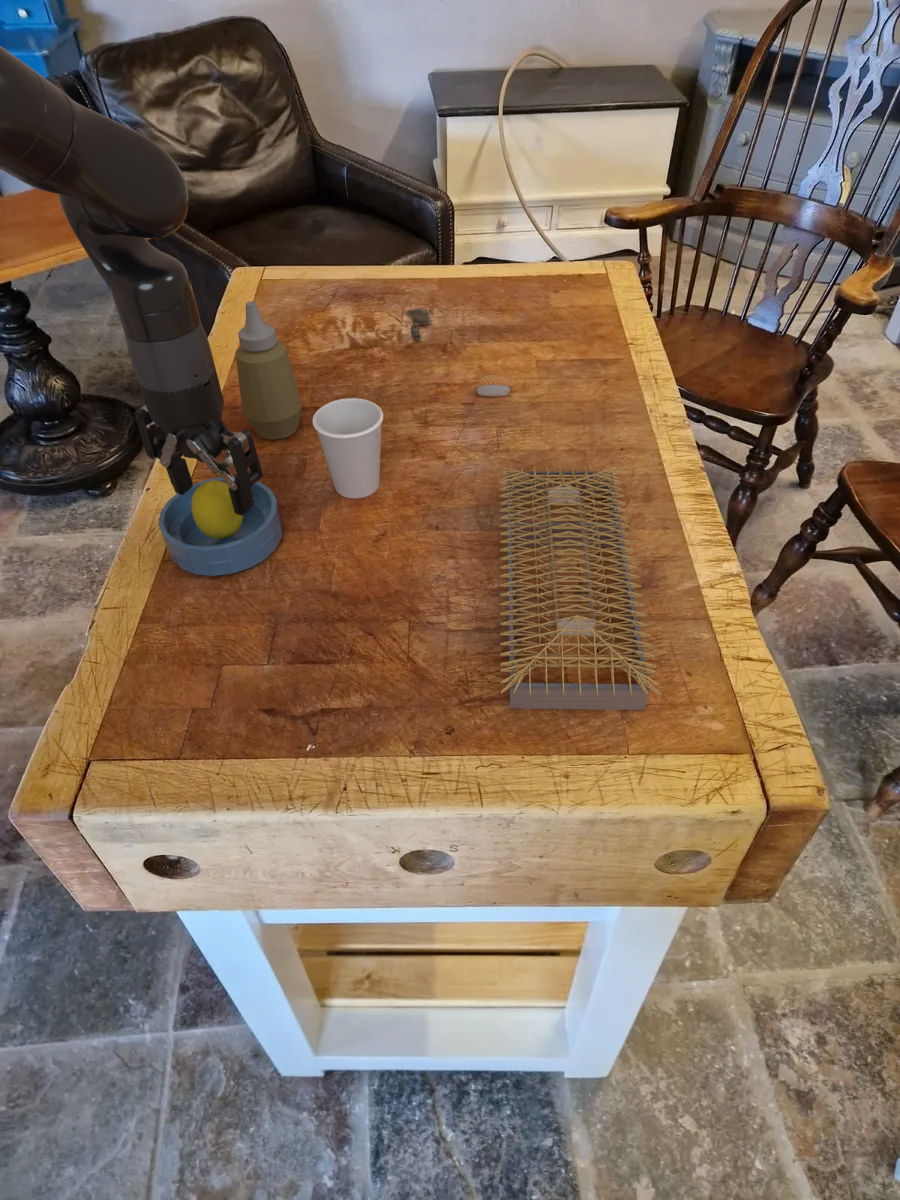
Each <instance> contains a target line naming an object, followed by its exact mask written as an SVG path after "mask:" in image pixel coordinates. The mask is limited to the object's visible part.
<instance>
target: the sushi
mask: <svg viewBox="0 0 900 1200" xmlns="http://www.w3.org/2000/svg"><path fill="white" fill-rule="evenodd" d="M511 388H512V389H513V388H515V384H514V382H513V380H512V379H511V378H509V377H508V376H505V375H502V374H495V373H493V374H492V373H491V374H484V375H482V376H479V378H478V379H477V380H476V382H475V383H473V384H472V385H470V386H469V389H470V390H473V389H476V393H477V394H478V395H479V396H482V397H506V396H507V395H509V394H510V392H511Z"/></svg>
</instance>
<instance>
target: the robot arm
mask: <svg viewBox="0 0 900 1200" xmlns="http://www.w3.org/2000/svg"><path fill="white" fill-rule="evenodd" d="M0 170H1V171H2V172H4V173H7V175H9V176H12V177H13V178H15V179H17V180H19V181H20V182H22V183H24V184H27V185H28V186H31V187H33V188H35V189H38V190H41V191H43V192H47V193H52V194H56V195H57V198H58V202H59V204H60V207H61V210H62V213H63V214H64V217H65V219H66V220H67V223H68V224H69V226H70V228H71V230H72V232H73V233H74V235H75V237H76V238H77V240H78V242H79V243H80V245H81V247H82V248H83V250H84V252H85V253H86V255H87V257H88V258H89V260H90V261H91V263H92V264H93V267H94V268H95V270H96V271H97V272H98V274H99V276H100V277H101V278H102V279H103V281H104V283H105V284H106V286H107V287H108V289H109V290H110V293H111V296H112V300H113V303H114V305H115V308H116V311H117V314H118V318H119V320H120V323H121V327H122V330H123V332H124V337H125V341H126V346H127V351H128V356H129V360H130V362H131V365H132V369H133V372H134V375H135V378H136V380H137V383H138V386H139V390H140V393H141V395H142V398H143V402H144V404H145V405H143V406H141V407H140V408H139V409H137V410H136V411H135V412H134V418H135V421H136V425H137V427H138V431H139V434H140V438H141V441H142V445H143V448H144V451H145V454H146V456H147V457H148V458H150V459H152V460H153V459H155V458H156V459H158V460H159V463H160V465H161V466H162V467H163V468H165V469H166V473H167V476H168V478H169V481H170V484H171V485H172V487H173V489H174V493H176V494H177V493H178V494H181V495H183V494H185V493H186V492H187V491H188V490H189V489H191V488H192V486H193V484H194V483H193V479H192V476H191V473H190V470H189V466H188V463H187V460H186V458H188V459H194V460H196V461H198V462H199V463H203V464H204V465H205V466H206V467H207V468H208V469H209V470H210V472H211V473H212V474H213V475H215V476H216V475H218V476H220V477H222V479H223V480H224V481H225V482H226V484H227V485H228V486H229V488H228V490H229V493H230V497H231V501H232V504H233V508H234V511H235V514H238V515H241V516H242V515H244V514H245V513H246V512H247V511H248V510H249V509H250V508H251V507H252V506H253V504H254V501H253V497H252V493H251V489H250V488H251V487H252V486H253V485H254V484H255V483H256V482H257V481H258V482H259V481H260V480H261V479H263V478H264V473H263V468H262V466H261V462H260V458H259V455H258V451H257V448H256V445H255V441H254V437H253V434H252V432H251V431H250V430H249V429H247V428H243V429H241V430H240V431H239V432H236V431H232V430H229V428H228V427H227V425H226V424H225V421H224V420H223V417H222V416H223V409H224V404H225V400H224V395H223V392H222V388H221V387H222V386H221V384H220V379H219V376H218V373H217V368H216V364H215V361H214V356H213V353H212V348H211V345H210V342H209V339H208V336H207V333H206V331H205V329H204V326H203V324H202V320H201V317H200V313H199V309H198V305H197V302H196V297H195V293H194V290H193V287H192V282H191V279H190V277H189V273H188V271H187V269H186V267H185V265H184V264H183V263H182V261H180V260H178V259H177V258H176V257H174V256H172V255H170V254H169V253H166V252H164V251H162V250H160V249H158V248H156V247H155V246H153V244H151V243H150V242H149V241H148V239H151V240H153V239H162V238H165V237H168V236H170V235H172V234H174V233H175V232H176V231H178V230H179V229H180V228H181V226H182V225H183V224H184V222H185V220H186V218H187V215H188V211H189V206H190V196H189V190H188V186H187V182H186V180H185V178H184V177H185V176H184V175H183V173H182V170H181V169H180V167H179V166H178V164H177V163H176V162H175V160H174V159H173V157H171V155H170V154H169V153H168V152H167V151H166V150H164V149H163V147H162V146H160V145H159V144H157V142H155V141H153V140H152V139H150V138H148V137H146V136H145V135H143V134H141V133H139V132H138V131H135V130H134V129H131V128H130V127H128V126H126V125H124V124H121V123H120V122H117V121H116V120H114V119H112V118H110V117H108V116H106V115H104V114H101V113H99V112H97V111H95V110H92V109H90V108H88V107H86V106H84V105H82V104H80V103H78V102H77V101H75V100H74V99H72V98H71V97H70V96H69V95H68V94H67V93H66V92H64V91H63V90H62V89H60V88H59V87H57V86H56V85H55V84H54V83H52V82H51V81H49V79H47V78H45V77H44V76H43V75H41V74H40V73H39V72H38V71H36V70H35V69H33V68H32V67H30V66H29V65H28V64H27V63H25V62H24V61H22V60H21V59H20V58H18V57H17V56H16V55H14V54H13V53H12V52H9V51H8V50H7V49H6V48H4V47H2V46H1V45H0ZM155 438H156V442H154V441H155V440H154V439H155ZM222 452H224V453H225V455H226V456H225V458H224V459H223V460H222V461H220V462H219V461H218V460H216V458H218V457H219V456H220V455H221V454H222ZM183 457H184V458H183ZM229 466H231V467H232V468H233V470H234V471H235V473H236V474H234V475H233V474H232V473H231V471H230V470H229Z"/></svg>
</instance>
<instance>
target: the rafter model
mask: <svg viewBox="0 0 900 1200" xmlns="http://www.w3.org/2000/svg"><path fill="white" fill-rule="evenodd" d="M499 468H500V469H501V470H500V471H499V474H501V475H505V476H504V477H501V478H499V485H506V486H503V487H500V488H499V491H505V492H506V493H503V494H500V495H499V498H506V500H503V501H500V502H499V505H506V507H504V508H501V509H499V512H500V513H501V512H502V513H506V515H504V516H500V517H499V520H506V522H505V523H503V524H499V528H506V531H502V532H499V535H500V536H506V539H502V540H499V543H500V544H506V547H504V548H500V549H499V552H506V556H502V557H500V558H499V561H506V562H507V564H504V565H501V566H499V569H502V570H506V569H507V573H505V574H500V575H499V578H507V582H503V583H500V584H499V588H500V587H501V588H503V587H505V588H506V587H507V591H506V592H502V593H500V594H499V596H500V597H507V601H504V602H500V604H499V606H507V610H506V611H503V612H500V613H499V614H500V616H507V621H503V622H500V623H499V625H500V626H507V627H508V630H507V631H504V632H500V633H499V636H508V637H507V638H508V641H504V642H500V646H508V651H505V652H501V653H500V656H502V657H503V656H505V657H507V656H508V661H506V662H501V663H500V667H505V668H501V669H500V672H508V676H507V678H505V679H503V680H502V681H500V684H501V685H502V684H505V683H508V684H507V685H506V686H505V687H504V688H503V689H502V690H501V691H500V695H502V694H503V693H504V692H506V691H507V690H508V693H509V694H508V695H509V696H508V697H509V700H508V701H509V709H532V710H535V709H536V710H537V709H538V710H541V709H542V710H597V711H599V710H601V711H602V710H603V711H605V710H607V711H608V710H609V711H617V710H618V711H645V710H646V705H647V701H648V698H649V693H650V690H651V691H652V692H654V693H655V694H657V695H658V696H660V697H661V696H662V693H661V692H660V691H659V690H658V689H657V688H656V687H655V686H658V687H659V686H660V683H659V682H658V681H656V680H654V679H652V678H650V677H649V676H648V674H658V671H657V670H655V669H656V668H657V664H654V663H649V662H646V659H645V658H655V655H654V654H651V653H647V652H644V648H652V647H653V644H651V643H646V642H643V641H642V638H651V634H649V633H646V632H642V631H641V630H640V627H649V624H648V623H644V622H641V621H639V618H638V617H647V614H646V613H643V612H640V611H637V607H644V608H645V607H646V606H645V605H646V604H645V603H641V602H638V601H635V598H643V597H644V594H642V593H638V592H634V590H633V588H640V589H641V588H642V585H641V584H637V583H634V582H632V579H640V576H639V575H636V574H632V573H630V570H638V569H639V567H638V566H634V565H631V564H629V561H631V562H635V561H637V558H636V557H632V556H628V555H627V553H635V549H632V548H629V547H626V545H627V544H628V545H633V544H634V541H631V540H629V539H625V538H624V536H629V537H630V536H632V535H633V534H632V533H631V532H628V531H624V530H623V528H631V525H629V524H626V523H624V522H622V521H623V520H625V521H629V517H627V516H625V515H622V514H621V515H620V513H628V509H625V508H622V507H619V505H626V504H627V502H625V501H623V500H618V498H625V494H621V493H618V492H619V491H622V492H623V491H624V488H623V487H619V486H616V485H622V484H623V481H622V477H621V478H620V477H617V476H615V475H618V474H621V471H620V470H618V469H619V468H620V465H617V466H614V467H610V465H607V467H605V469H603V470H601V471H600V469H599V467H598V465H596V466H595V468H596V471H592V470H591V471H589V470H588V471H587V469H586V467H585V465H583V470H582V471H581V470H580V471H579V470H578V471H577V470H576V471H574V468H573V465H570V470H571V471H569V470H568V471H567V470H566V471H562V470H561V467H560V465H558V471H555V470H554V471H549V469H548V465H546V466H545V470H546V471H544V470H543V471H539V470H538V471H536V467H535V466H533V471H530V470H529V471H528V470H527V471H523V465H520V470H518V469H516V468H515V467H513V466H512V465H508V467H506V466H502V465H499ZM616 491H617V492H616ZM522 498H531V500H530V501H529V500H525V499H524V500H523V499H522ZM534 498H536V499H534ZM591 498H592V499H591ZM595 498H604V499H603V500H595ZM545 499H546V500H545ZM515 501H518V502H515ZM538 501H541V502H538ZM584 501H590V502H584ZM511 505H512V506H511ZM524 505H532V508H527V507H522V506H524ZM534 505H537V506H534ZM591 505H593V506H591ZM596 505H603V506H605V507H601V508H597V507H596ZM551 506H563V507H561V508H557V509H551ZM568 506H569V507H568ZM570 506H577V509H576V508H572V507H570ZM516 508H517V509H516ZM541 508H542V509H541ZM586 508H589V509H586ZM591 509H592V510H591ZM523 513H532V515H531V516H529V515H524V514H523ZM535 513H538V514H535ZM592 513H594V514H592ZM597 513H606V514H605V515H600V516H599V515H597ZM551 514H564V515H561V516H557V517H552V516H551ZM569 514H570V515H569ZM571 514H578V517H577V516H574V515H571ZM546 515H547V516H546ZM516 516H519V517H516ZM540 516H543V517H540ZM586 516H590V517H586ZM512 520H513V521H512ZM526 520H532V521H526ZM535 520H537V521H535ZM594 520H595V522H594ZM598 520H600V522H599V521H598ZM601 520H602V521H601ZM605 521H606V522H605ZM555 547H556V548H558V547H559V548H566V549H554V548H555ZM516 548H519V549H516ZM575 548H582V549H575ZM591 548H592V549H591ZM513 552H516V553H513ZM530 552H532V553H533V552H534V557H533V556H528V555H523V554H526V553H530ZM545 552H546V553H547V552H550V553H547V554H545ZM537 553H539V554H541V555H539V556H537ZM598 553H600V555H596V554H598ZM602 553H609V554H613V555H610V556H606V557H605V556H604V557H603V556H602ZM556 555H579V556H580V555H581V556H582V555H583V558H576V557H572V556H570V557H566V558H565V557H564V558H563V557H562V558H560V557H559V558H558V557H557V558H555V556H556ZM591 557H594V558H591ZM513 561H516V562H513ZM529 561H535V565H530V564H524V563H525V562H529ZM538 561H539V562H540V563H542V564H539V565H537V564H538ZM544 561H551V562H544ZM590 561H594V562H590ZM600 561H601V563H600V564H597V563H598V562H600ZM604 561H607V562H612V563H614V564H610V565H605V566H604ZM556 564H584V566H574V565H573V566H572V565H571V566H566V567H565V566H555V565H556ZM517 565H519V566H517ZM516 569H517V570H516ZM518 569H519V570H518ZM513 570H515V571H513ZM530 570H535V574H530V573H525V572H526V571H530ZM538 570H540V571H541V572H543V573H540V574H538ZM545 570H551V571H545ZM591 570H596V571H591ZM601 570H602V573H598V572H599V571H601ZM605 570H609V571H613V572H617V573H612V574H607V575H605ZM557 573H577V574H579V573H581V574H582V573H583V574H584V573H585V575H556V574H557ZM517 574H520V575H517ZM515 578H516V580H513V579H515ZM517 578H520V579H517ZM535 578H536V583H531V582H525V581H527V580H530V579H535ZM539 579H540V580H541V581H543V582H542V583H538V582H539ZM546 579H552V580H550V581H547V580H546ZM591 579H597V580H595V581H594V580H591ZM606 579H609V580H613V581H617V582H613V583H608V584H606ZM601 580H603V583H602V582H599V581H601ZM560 582H561V583H586V585H585V584H582V585H581V584H557V583H560ZM517 583H519V584H517ZM520 583H521V584H520ZM515 587H516V588H518V587H519V588H518V589H514V588H515ZM532 588H536V593H535V592H531V591H530V592H529V591H524V590H528V589H532ZM546 588H553V589H552V590H548V589H546ZM572 588H577V589H572ZM592 588H598V589H597V590H593V589H592ZM608 588H610V589H614V590H617V591H618V592H612V593H611V592H610V593H607V591H608ZM539 589H542V590H543V591H544V592H541V593H539ZM603 589H605V590H604V592H601V590H603ZM559 592H587V594H566V593H565V594H564V593H563V594H562V593H561V594H559ZM514 597H520V598H516V599H514ZM534 597H537V601H536V602H532V601H528V599H531V598H534ZM546 597H553V599H552V600H549V599H547V598H546ZM558 597H560V598H558ZM593 597H596V598H598V597H599V598H598V599H597V600H596V599H593ZM609 597H610V598H614V599H617V600H621V601H617V602H611V603H609ZM540 598H541V599H544V600H545V601H544V602H540ZM571 598H578V599H571ZM526 599H527V601H526ZM604 599H606V602H603V601H602V600H604ZM517 602H518V603H517ZM519 602H521V603H519ZM558 602H588V603H558ZM596 603H597V604H596ZM514 606H523V607H519V608H515V609H514ZM534 607H537V612H534V611H529V610H526V609H530V608H534ZM540 607H541V608H542V609H544V610H545V612H541V613H540ZM547 607H554V609H553V610H550V609H548V608H547ZM559 607H561V608H559ZM594 607H602V608H600V609H597V610H596V609H594ZM572 608H580V609H572ZM606 608H608V609H607V612H604V611H603V610H604V609H606ZM610 608H615V609H619V610H622V611H617V612H611V613H610ZM519 612H520V613H519ZM522 612H523V613H522ZM559 612H589V613H559ZM514 616H524V617H520V618H515V619H514ZM545 616H549V617H550V616H552V617H553V616H555V618H554V619H555V620H551V619H549V618H547V617H545ZM559 616H560V617H561V616H562V617H563V618H559ZM565 616H566V617H565ZM535 617H538V619H537V620H538V621H537V622H534V621H529V620H526V619H531V618H535ZM589 617H590V618H589ZM595 617H603V618H602V619H600V620H597V619H596V618H595ZM612 617H613V618H616V619H621V620H624V621H619V622H618V621H617V622H614V623H613V622H612V623H611V621H612ZM541 618H543V619H545V620H546V621H547V622H543V623H540V619H541ZM608 618H609V620H608V622H604V620H606V619H608ZM518 622H519V623H518ZM521 622H522V623H521ZM523 622H524V623H523ZM515 626H525V627H521V628H516V629H515V628H514V627H515ZM545 626H550V627H551V626H553V627H554V626H555V627H556V629H555V630H551V629H549V628H547V627H545ZM536 627H538V632H534V631H528V629H532V628H536ZM596 627H605V628H603V629H601V630H598V629H596ZM541 628H543V629H545V630H546V631H547V632H542V633H541ZM614 628H617V629H620V630H624V631H622V632H615V633H613V629H614ZM608 629H610V632H609V633H608V632H605V631H606V630H608ZM519 632H521V633H519ZM515 636H517V637H519V636H524V637H522V638H518V639H515ZM536 637H539V643H538V642H533V641H527V640H529V639H532V638H533V639H534V638H536ZM548 637H554V638H553V639H552V640H551V639H550V638H548ZM560 637H561V638H560ZM563 637H565V639H563ZM572 637H577V643H564V642H566V641H567V640H569V639H570V638H572ZM579 637H583V639H585V640H586V641H587V642H588V643H580V638H579ZM587 637H593V642H592V641H591V640H590V639H588V638H587ZM603 637H607V638H604V639H603ZM627 637H628V638H627ZM542 638H544V639H545V640H547V641H549V642H545V643H542ZM596 638H598V639H599V640H601V641H599V642H598V641H597V642H596ZM611 638H612V639H611ZM615 638H618V639H622V640H625V642H619V643H614V641H615ZM556 639H557V642H555V641H556ZM560 639H561V641H560ZM609 639H610V640H611V643H609V642H607V640H609ZM519 642H521V643H519ZM515 646H516V647H517V646H518V647H519V646H527V647H523V648H519V649H515ZM540 647H544V648H543V649H542V650H541V651H540V652H537V651H531V650H530V649H534V648H540ZM551 647H558V651H557V652H556V651H555V650H554V649H553V648H551ZM564 647H570V648H568V649H567V650H566V649H565V650H564ZM585 647H594V653H593V652H592V651H590V650H588V649H587V648H585ZM598 647H604V648H603V649H602V650H600V651H599V652H597V651H598ZM614 647H615V648H618V649H622V650H626V651H624V652H617V651H616V650H615V649H614ZM547 648H548V649H549V650H550V651H551V652H553V653H554V654H553V653H552V654H549V653H548V654H547ZM575 648H577V653H578V654H565V653H567V652H569V651H571V650H574V649H575ZM580 648H581V649H582V650H584V651H585V652H587V653H588V654H580ZM608 649H609V650H608ZM606 650H608V654H601V653H603V652H604V651H606ZM520 652H525V653H520ZM625 654H626V655H625ZM628 654H629V655H628ZM515 657H523V658H518V659H515ZM529 660H531V661H530V662H529ZM541 660H544V662H542V661H541ZM555 660H558V662H557V661H555ZM564 660H567V661H565V662H564ZM588 660H589V661H588ZM591 660H592V661H593V660H594V662H591ZM599 661H601V662H600V663H599ZM614 661H616V662H614ZM628 661H629V662H628ZM536 662H537V663H536ZM548 662H551V663H548ZM574 662H577V664H575V663H574ZM581 662H584V663H586V664H581ZM608 662H610V664H606V663H608ZM571 663H574V664H571ZM620 663H621V664H620ZM537 667H539V668H540V667H541V668H542V667H544V673H545V682H531V681H532V680H531V679H532V678H531V672H532V671H533V670H534V669H535V668H537ZM548 667H551V668H552V667H553V668H560V669H561V670H560V671H561V682H559V683H558V682H557V683H555V682H548ZM564 668H577V676H578V683H568V682H567V683H566V682H565V678H564V677H565V676H564V675H565V674H564ZM581 668H593V673H594V682H595V683H581V680H582V679H581ZM597 668H609V671H610V676H611V677H610V678H611V683H598V672H597V671H598V669H597ZM614 668H618V669H621V670H623V671H624V672H625V673H626V674H627V682H628V683H615V675H614V674H615V673H614ZM527 675H528V682H522V681H523V679H524V678H525V676H527ZM631 677H632V678H633V679H634V681H635V684H634V683H632V679H631ZM654 685H655V686H654Z"/></svg>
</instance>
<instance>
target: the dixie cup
mask: <svg viewBox="0 0 900 1200" xmlns="http://www.w3.org/2000/svg"><path fill="white" fill-rule="evenodd" d="M383 421H384V412H383V409H382V408H381V406H379V405H377V404H376V403H375V402H373V401H370V400H367V399H364V398H358V397H357V398H356V397H351V398H341V399H336V400H333V401H330V402H327V403H326V404H324V405H322V406H321V407H320V408H319V409H317V410H316V412H315V413H314V414H313V417H312V426H313V428H314V430H316V432H317V436H318V439H319V442H320V445H321V448H322V451H323V454H324V457H325V461H326V464H327V467H328V470H329V473H330V476H331V479H332V483H333V486H334V489H335V491H336V493H337V494H338V495H340V496H342V497H344V498H348V499H361V498H366V497H368V496H371V495H373V494H374V493H375V492H377V490H378V489H379V487H380V479H381V450H382V449H381V448H382V423H383Z"/></svg>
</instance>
